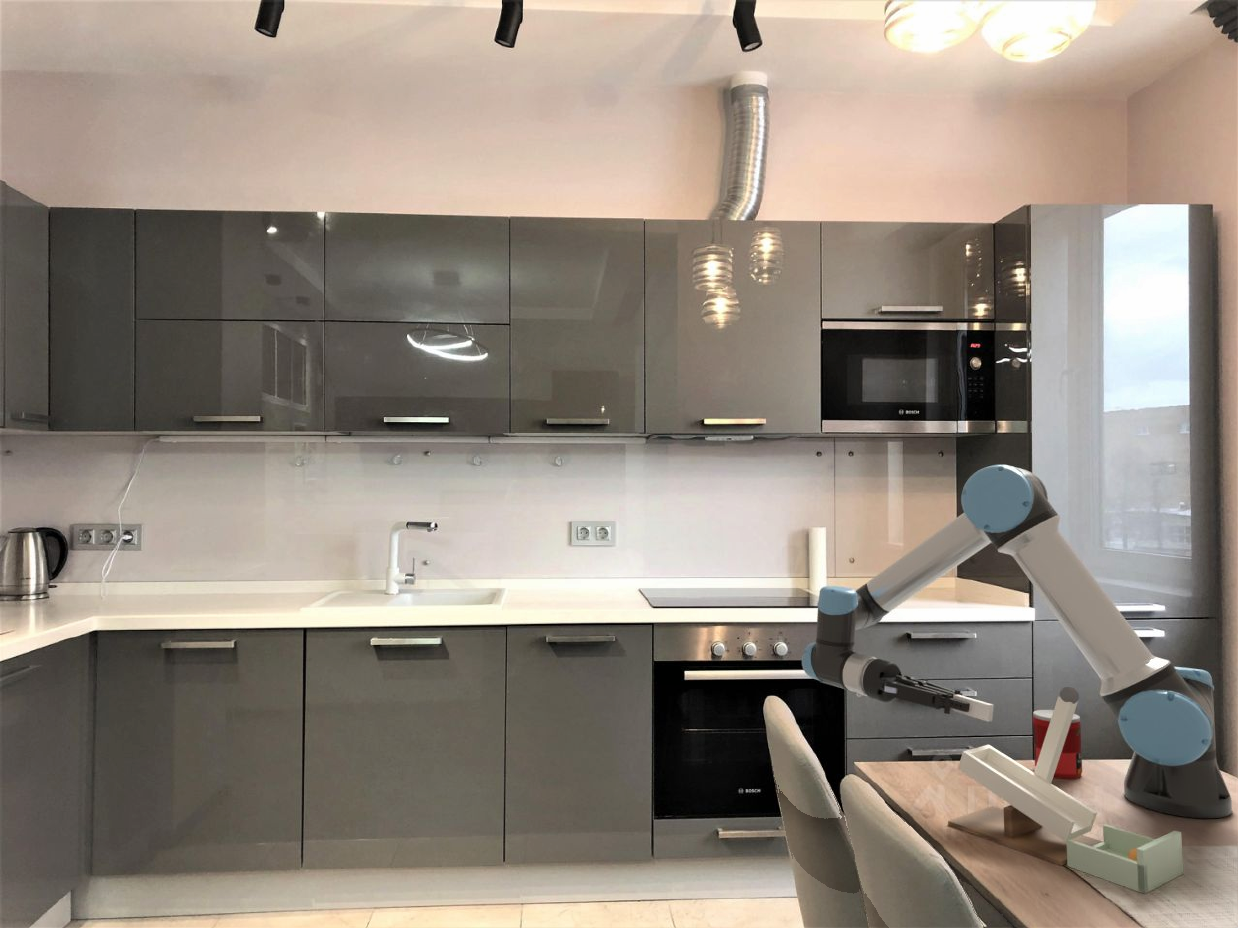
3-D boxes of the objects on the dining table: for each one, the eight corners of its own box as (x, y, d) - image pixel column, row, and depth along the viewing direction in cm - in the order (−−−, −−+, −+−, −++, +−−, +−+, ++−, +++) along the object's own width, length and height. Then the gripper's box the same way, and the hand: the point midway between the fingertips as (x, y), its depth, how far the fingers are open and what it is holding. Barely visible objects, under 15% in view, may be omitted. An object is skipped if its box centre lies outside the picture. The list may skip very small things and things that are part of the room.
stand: (948, 824, 128) (947, 793, 129) (992, 809, 135) (991, 780, 135) (1061, 865, 113) (1060, 830, 114) (1105, 846, 120) (1103, 813, 120)
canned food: (1088, 780, 149) (1086, 720, 150) (1042, 777, 151) (1039, 718, 151) (1074, 767, 157) (1071, 710, 157) (1029, 765, 158) (1027, 708, 159)
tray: (1067, 865, 113) (1065, 825, 114) (1106, 848, 119) (1105, 810, 119) (1145, 893, 105) (1143, 850, 105) (1183, 873, 111) (1181, 832, 111)
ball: (1141, 844, 112) (1158, 868, 110) (1120, 854, 112) (1136, 878, 111) (1146, 842, 110) (1163, 866, 108) (1124, 852, 110) (1141, 876, 108)
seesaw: (957, 768, 130) (988, 665, 126) (991, 759, 135) (1022, 659, 131) (1065, 841, 115) (1104, 727, 111) (1098, 827, 120) (1136, 717, 116)
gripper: (892, 696, 157) (1009, 733, 138) (849, 698, 150) (966, 738, 131) (896, 657, 158) (1013, 689, 138) (853, 658, 150) (970, 691, 131)
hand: (990, 712), depth 135 cm, fingers closed
